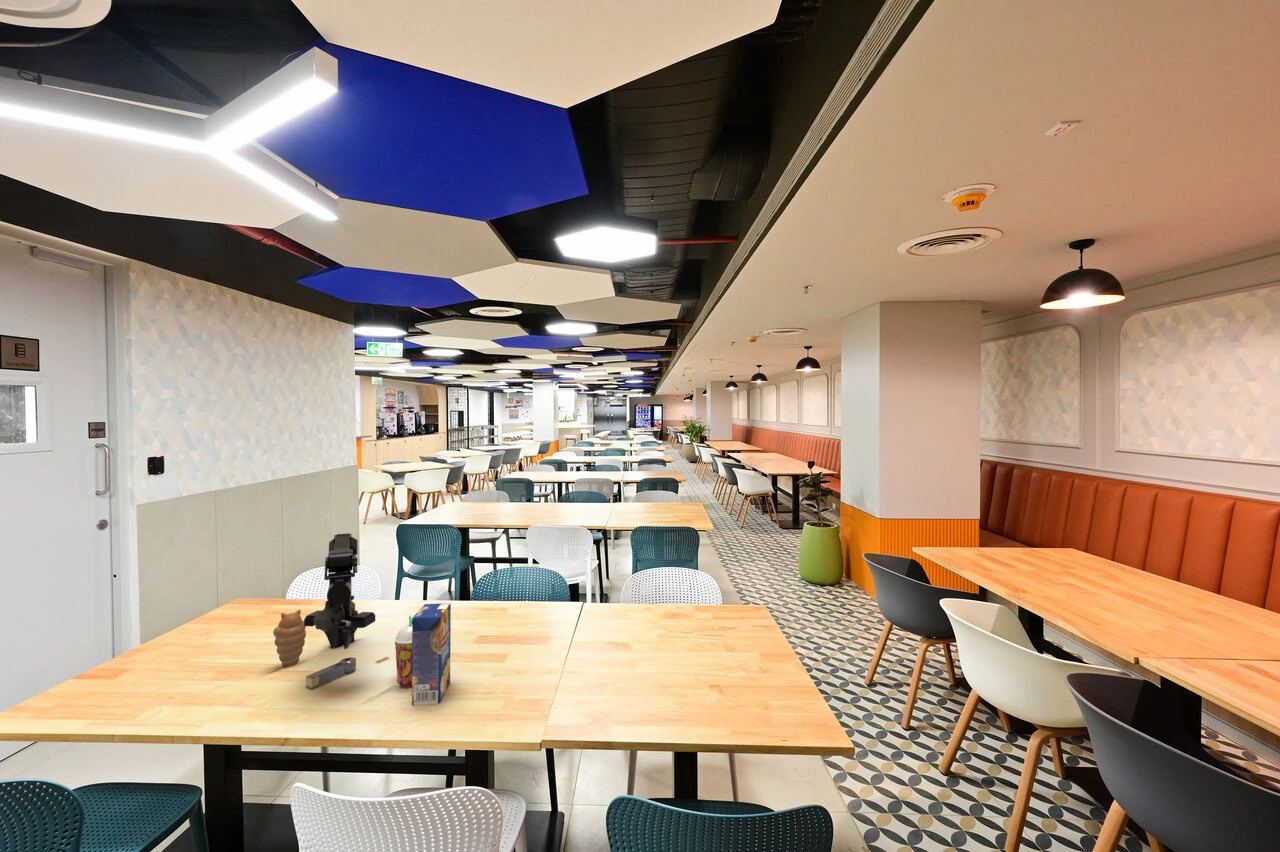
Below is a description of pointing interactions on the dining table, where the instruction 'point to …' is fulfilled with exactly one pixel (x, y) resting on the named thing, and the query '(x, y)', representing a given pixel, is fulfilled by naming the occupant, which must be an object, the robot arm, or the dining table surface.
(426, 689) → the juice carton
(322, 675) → the swing bar
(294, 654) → the cat ice cream
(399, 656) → the smoothie
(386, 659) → the brass stop
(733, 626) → the dining table surface
